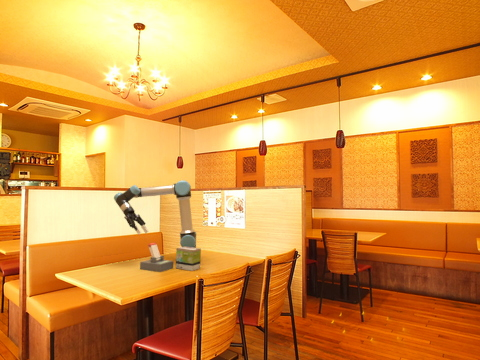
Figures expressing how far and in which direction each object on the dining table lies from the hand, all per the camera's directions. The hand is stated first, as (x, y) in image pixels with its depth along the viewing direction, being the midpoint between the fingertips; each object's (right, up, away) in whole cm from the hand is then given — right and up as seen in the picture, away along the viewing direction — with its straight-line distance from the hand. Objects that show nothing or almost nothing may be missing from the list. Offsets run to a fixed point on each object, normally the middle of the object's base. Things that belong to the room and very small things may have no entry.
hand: (143, 232), depth 224 cm
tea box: (+34, -25, -5) cm, 42 cm away
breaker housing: (+12, -24, -7) cm, 28 cm away
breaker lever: (+12, -18, -7) cm, 23 cm away
